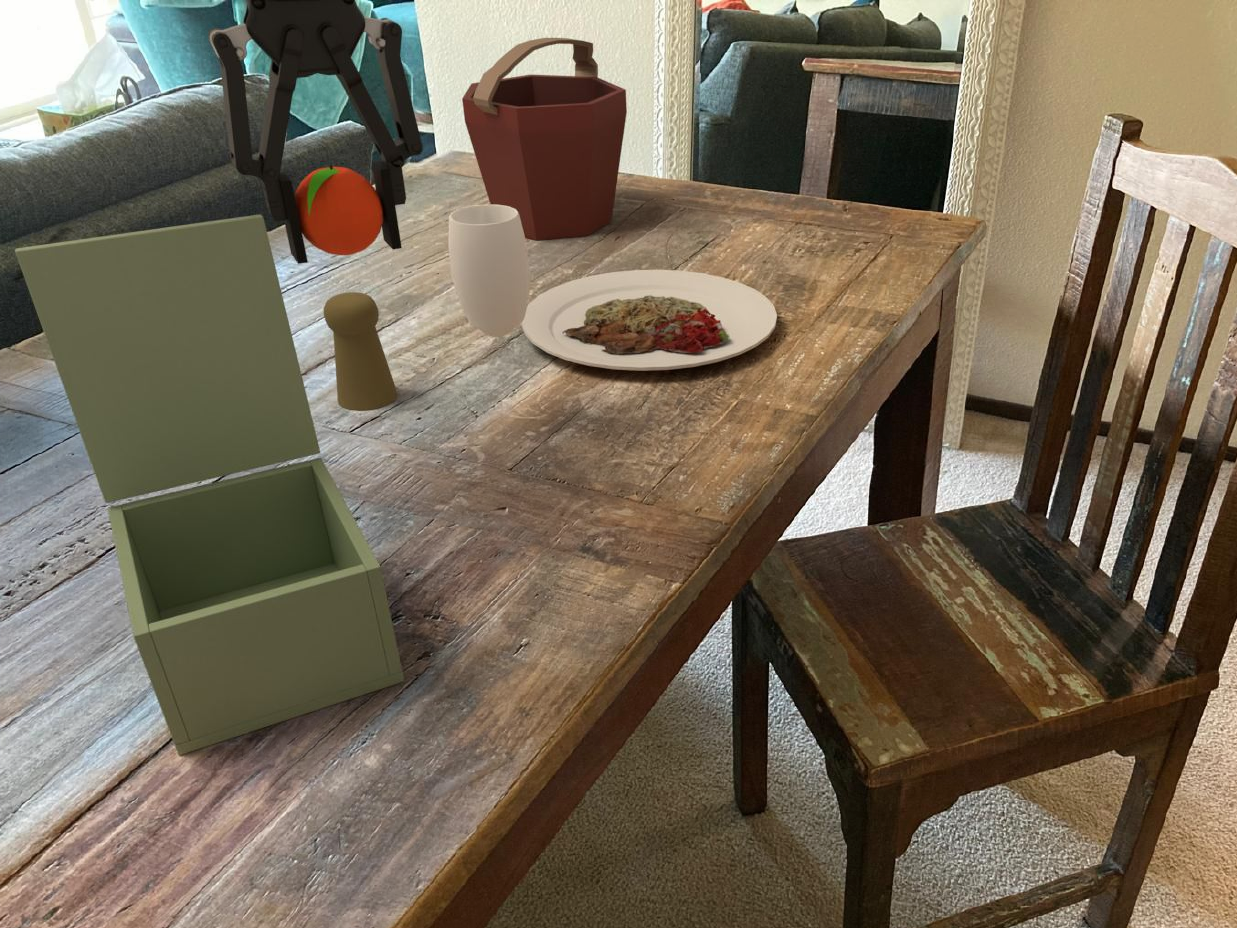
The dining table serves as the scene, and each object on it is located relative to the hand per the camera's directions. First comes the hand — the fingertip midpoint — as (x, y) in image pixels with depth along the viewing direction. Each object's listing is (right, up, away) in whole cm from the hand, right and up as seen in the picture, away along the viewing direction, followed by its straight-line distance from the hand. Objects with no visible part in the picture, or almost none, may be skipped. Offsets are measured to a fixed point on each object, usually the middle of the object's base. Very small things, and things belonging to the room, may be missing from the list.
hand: (346, 250), depth 90 cm
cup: (+9, -12, +20) cm, 25 cm away
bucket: (+6, +24, +73) cm, 77 cm away
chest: (-2, -32, -10) cm, 34 cm away
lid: (-6, -12, -15) cm, 20 cm away
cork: (-6, -9, +24) cm, 26 cm away
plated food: (+22, +1, +40) cm, 45 cm away
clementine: (0, -1, 0) cm, 1 cm away
